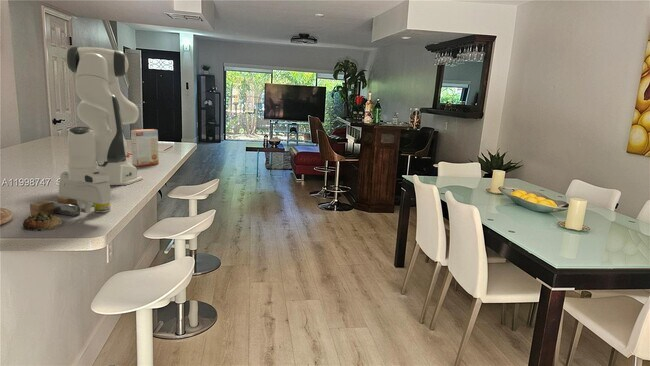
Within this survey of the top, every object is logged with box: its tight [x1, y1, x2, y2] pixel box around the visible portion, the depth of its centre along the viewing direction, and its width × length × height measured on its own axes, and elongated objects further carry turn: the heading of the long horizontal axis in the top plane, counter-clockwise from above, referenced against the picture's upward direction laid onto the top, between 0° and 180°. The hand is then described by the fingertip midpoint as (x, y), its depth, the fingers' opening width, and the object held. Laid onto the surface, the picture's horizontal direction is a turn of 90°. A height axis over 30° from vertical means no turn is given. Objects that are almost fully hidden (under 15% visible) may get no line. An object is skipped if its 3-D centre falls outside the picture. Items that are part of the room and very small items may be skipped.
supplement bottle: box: [93, 200, 111, 213], centre depth 158 cm, size 5×5×10 cm
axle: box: [50, 200, 82, 217], centre depth 152 cm, size 4×12×4 cm, turn 72°
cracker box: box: [130, 128, 160, 167], centre depth 250 cm, size 14×6×21 cm, turn 144°
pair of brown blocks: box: [29, 196, 77, 216], centre depth 154 cm, size 16×4×4 cm, turn 162°
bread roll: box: [22, 213, 63, 231], centre depth 139 cm, size 11×11×5 cm
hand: (85, 212), depth 150 cm, fingers closed
